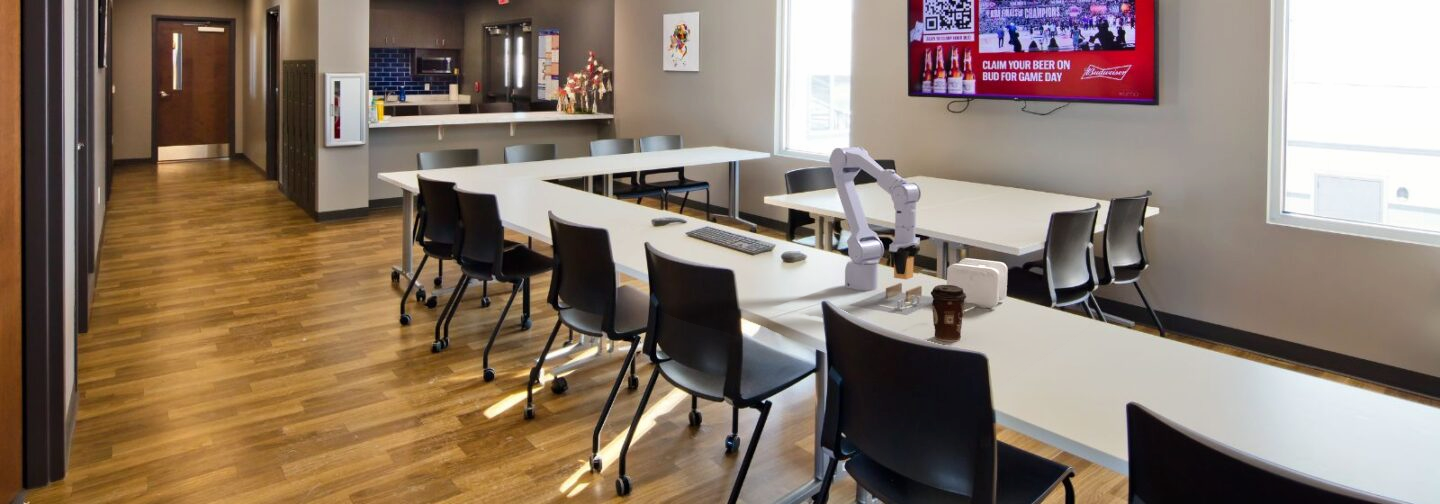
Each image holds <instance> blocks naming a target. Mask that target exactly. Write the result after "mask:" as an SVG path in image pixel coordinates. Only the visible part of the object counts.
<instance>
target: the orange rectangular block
mask: <svg viewBox="0 0 1440 504" xmlns="http://www.w3.org/2000/svg"><path fill="white" fill-rule="evenodd" d="M913 261H914V257H912V256H908V257H907V261H906V267H905V273H904V274H897V272H896V268H895V264H893V278H894V279H900V280H910V279H912V278H914V265H913ZM914 262H915V261H914Z"/></svg>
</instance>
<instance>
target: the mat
mask: <svg viewBox="0 0 1440 504" xmlns="http://www.w3.org/2000/svg"><path fill="white" fill-rule="evenodd" d="M932 302H933V297H932V296H927V295H922V294H921V297H920V296H917V298H916V299H915V295H912V300H911V301H909V302H906V292H902V293H901V294H899V295H896V296H894V297H891V298H889V299H887V298H886V290H885V291H881V292H880V293H877V294H874V295H871V296H869V297H866V298H864V299H861V300H859V301H856V302H853V303H851V304H849V306H852V307H856V308H857V307H858V308H863V309H868V310H869V309H870V310H875V311H882V312H887V313H892V314H898V315H905V316H907V315H909V314H912V313H914V312H916V311H918V310H921V309H924V308H927V307H928V306H932Z"/></svg>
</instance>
